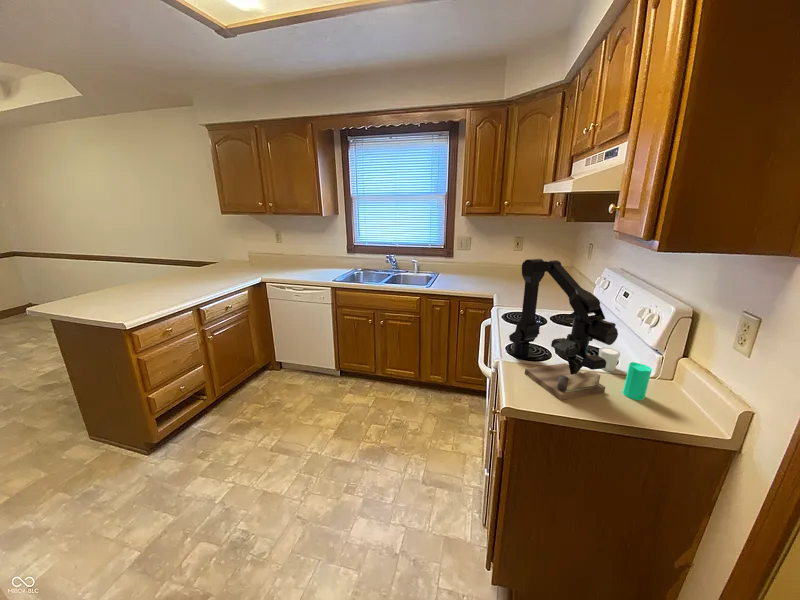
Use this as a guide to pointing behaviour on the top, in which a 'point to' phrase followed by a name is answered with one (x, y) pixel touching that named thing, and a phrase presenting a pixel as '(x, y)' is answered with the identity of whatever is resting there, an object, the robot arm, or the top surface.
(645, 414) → the top surface
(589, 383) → the hinged leg
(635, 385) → the candle
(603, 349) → the white mug
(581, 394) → the stool seat
